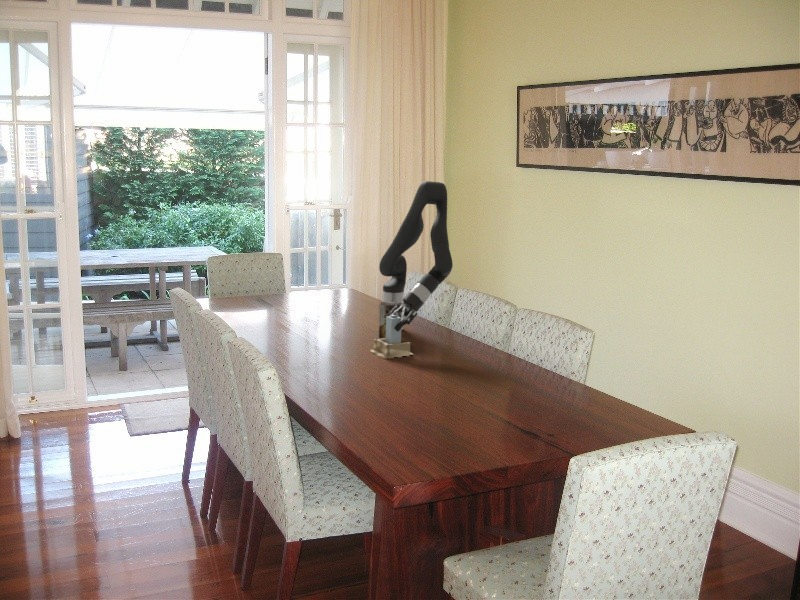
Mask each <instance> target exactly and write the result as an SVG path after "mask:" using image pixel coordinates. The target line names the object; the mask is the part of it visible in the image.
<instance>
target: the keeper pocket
mask: <svg viewBox="0 0 800 600" xmlns="http://www.w3.org/2000/svg"><path fill="white" fill-rule="evenodd" d="M372 340H373V344H372V345H373V347H372V349H369V353H371V352H372V354H373V353H374V354H373V355H374V356H377V357H379V358H381V359H383V360H386V359H387V358H389V359H395V358H394V357H398V358H403V357H402V356H407V357H410V356H409V355H413V356H414V353H413V352H411V342H409V341H407V342H401V343H395V344H387V343H386V338H382V339H379V338H373V339H372Z"/></svg>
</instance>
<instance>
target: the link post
mask: <svg viewBox="0 0 800 600" xmlns="http://www.w3.org/2000/svg"><path fill="white" fill-rule="evenodd" d="M399 321H401V317H398V316H397V315H391V316H386V343H387V344H395V343H402V330H401V329H400V330H399V331H396V330H395V329H394V327H395V326H396V325H397V324H398V323H399Z"/></svg>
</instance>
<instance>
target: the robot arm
mask: <svg viewBox="0 0 800 600" xmlns="http://www.w3.org/2000/svg"><path fill="white" fill-rule="evenodd" d="M427 205H434V206H435V207H436V216H435V219H434V221H433V223H432V226H431V229H430V235H429V236H430V244H431V249H432V252H433V255H434V256H433V257H434V265H433V266H432V268H431V269H430V270H429V271H428V273H426V274H424V275H423V276H422V278H421V279H420V280H419V281H418V282H417V283H416V284H415V285H414V286H413V287H412V288H411V289H410V291H409V292H408V293H407V294H406V295H404V294H405V286H406V282H407V281H406V280H407V270H408V269H407V267H408V266H407V260H406V257H405V256H404V255H403V254H404V253H406V252H407V251H408V250H409V249H410V248H412V247H413V246H414V245H415V244H416V243H417V242H418V240H419V238H420V237H421V235H422V233H423V232H424V228H425V227H424V226H425V225H424V218H423V211H424V209H425V207H426V206H427ZM378 268H379V272H380V274H381V275H382V276H383V277H391V278H390V280H388V281H387V282H386V283H384V284H383V285H382V302H397V304H396V306H395V307H394V308H393V309H392V310H391V311H390V312H389V313H388V314H389V316H391V315H397V316H398V317H402V318H401V321H399V323H398V324H397V325H396V326H395V327H394V329H395V330H396V331H399V330H400V329H401V331H402V330H403V329H404V326H405V325H408V326H409V325H410V324H411V323H412V322H413V321H414V320H415V318H416V316H417V315H418V311H419V310H420V309H421V308H422V307H423V306H424V304H425V303H426V302H427V301H428V299H429V298H430V297H431V295H432V294H433V293H434V291H436V290H437V288H438V287H439V285H440V284H441V283H442V282H444V281H445V280H446V279H447V278H448V276H449V275H450V274H451V272H452V270H453V258H452V255H451V251H450V243H449V236H448V189H447V186H446V185H445V184H444V183H443V182H439V181H430V180H428V181H427V180H425V181H422V182H421V183H420V185H419V186H418V188H417V190H416V193H415V195H414V198H413V201H412V203H411V206H410V207H409V210H408V212H407V213H406V216H405V218H404V220H403V221H402V222H401V225H400V226H399V229H398V230H397V233H396V235H395V237H394V238H393V240H392V242H391V244H390V245H389V246H388V248H387V250H386V251H385V253H384V254H383V256H382V257H381V259H380V261H379V266H378ZM399 303H402V305H400V304H399ZM393 311H394V312H393ZM392 312H393V313H392ZM384 324H385V325H386V322H385V323H384Z"/></svg>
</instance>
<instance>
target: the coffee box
mask: <svg viewBox="0 0 800 600" xmlns="http://www.w3.org/2000/svg"><path fill="white" fill-rule="evenodd" d="M396 304H397V302H383V301H380V303H379V307H378V309H379V310H378V316H379V317H378V321H379V322H378V339H382V338H386V325H385V324H384V323H385V322H386V316H389V314H388V313H389V312H390V311H391V310H392V309H393V308H394V307H395V306H396ZM399 304H400V305H402V303H399ZM393 312H394V311H393ZM393 312H392V313H393ZM401 318H402V317H401Z"/></svg>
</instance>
